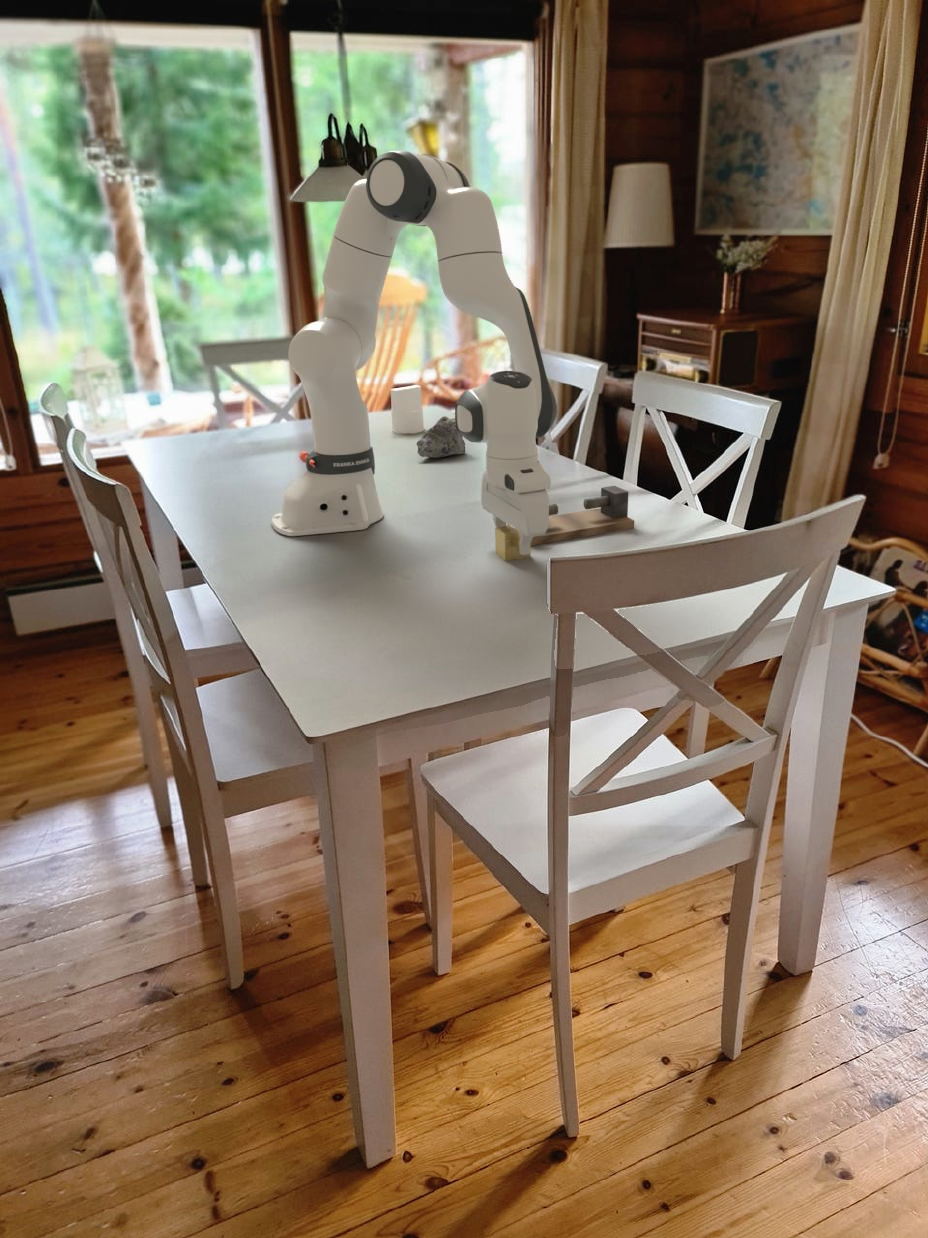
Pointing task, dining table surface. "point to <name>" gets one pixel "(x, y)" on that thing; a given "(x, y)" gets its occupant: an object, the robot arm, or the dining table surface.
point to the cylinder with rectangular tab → (407, 409)
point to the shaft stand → (589, 518)
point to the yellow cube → (508, 543)
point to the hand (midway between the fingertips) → (512, 546)
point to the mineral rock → (441, 440)
